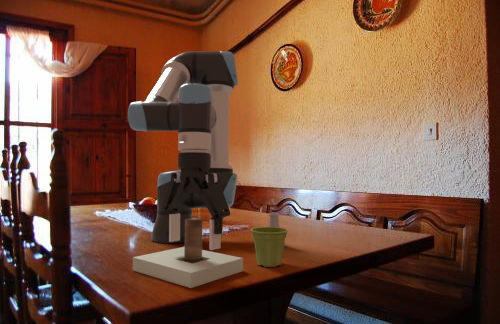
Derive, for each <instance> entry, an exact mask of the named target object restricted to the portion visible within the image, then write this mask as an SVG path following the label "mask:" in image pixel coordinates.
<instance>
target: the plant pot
mask: <svg viewBox="0 0 500 324" xmlns="http://www.w3.org/2000/svg"><path fill="white" fill-rule="evenodd" d="M250 232H251V234H252V235H251V236H252V238H253V243H254V251H255V257H256V258H255V260H256V264H257V265H258V266H263V267H265V268H275V267H277V266H282V264H283V256H284V250H285V249H284V248H285V246H284V243H285V244H286V241H285V240H286V238H287V235H288V232H289V229H288V228H285V227H280V228H279V227H269V226H260V227H253V228H251V229H250Z"/></svg>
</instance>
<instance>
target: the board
mask: <svg viewBox="0 0 500 324" xmlns="http://www.w3.org/2000/svg"><path fill="white" fill-rule="evenodd" d="M184 250H185V246H182V247H177V248H171V249H167V250H162V251H157V252H152V253H148V254H143V255H138V256H132V271H134V272H137V273H140V274H144V275H147V276H150V277H153V278H156V279H160V280H163V281H166V282H169V283H172V284H176V285H179V286H183V287H186V288H189V289H192V288H195V287H198V286H201V285H202V286H203V285H204V284H207V283H211V282H213V281H217V280H220V279H223V278H227V277H229V276H232V275H235V274H238V273H241V272H243V271H244V257H239V256H234V255H229V254H224V253H219V252H214V251H211V250H204V249H202V261H200V262H196V263H189V262H185V261H184Z"/></svg>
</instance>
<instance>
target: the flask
mask: <svg viewBox="0 0 500 324" xmlns="http://www.w3.org/2000/svg"><path fill="white" fill-rule="evenodd" d="M268 216H269V217H270V218H269V225H268V227H279V228H281V227H280V222H279V221H280V220H279V217H280V213H276V212H271V213H268ZM284 247H286V242H285V243H284Z"/></svg>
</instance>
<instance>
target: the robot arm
mask: <svg viewBox="0 0 500 324" xmlns="http://www.w3.org/2000/svg"><path fill="white" fill-rule="evenodd" d="M237 73H238V71H237V65H236V59H235V55H234V53H233V52H231V51H223V50H220V51H219V50H218V51H217V50H215V51H211V50H207V51H206V50H205V51H204V50H203V51H201V50H200V51H195V50H190V51H185V52H182V53H179V54H178V55H175V56H174V57H172V58H170V59H169V60H167V62H166V63H165V64H164V65H163V67H162V69H161V71H160V77H159V78H158V81H157V82H156V84H155V85H154V87H153V88H152V90H151V91H150V93H149V94H148V95H147V97H146V98H145V100H144V101H142V100H139V101H133V102H130V104H129V106H128V109H127V121H128V125H129V127H130V129H132V130H133V131H138V132H139V131H141V132H145V133H146V132H177V133H178V135H177V136H178V137H177V139H178V140H177V150H178V151H180V152H178V154H177V168H178V169H180V170H172V171H165V172H160V174H159V175H158V177H157V186H156V189H157V190H156V194H157V195H156V208H157V209H156V219H155V221H154V224H153V229H152V231H151V236H150V237H151V241H152V242H155V243H161V244H177V243H178V244H179V243H181V244H182V243H185V219H193V218H194V217H193V209H207V210H208V212H209V214H210V215H211V217H210V218H209V226H208V227H209V237H208V239H209V242H208V244H209V245H208V247H209V250H208V251H214V250H219V249H221V241H222V239H221V237H222V236H221V234H222V233H223V232H224V231H223V224H224V221H223V220H224V218H226V217H230V216H231V211H230V209H229V208H231V207H232V206H233V205H234V201H235V196H236V190H237V180H238V175H237V173H234V168H233V167H232V166H231V165H230V163H229V159H230V158H229V157H230V156H229V155H230V154H229V152H230V151H229V147H230V146H229V145H230V141H229V138H230V137H229V136H230V135H229V134H230V95H231V94H232V93H234V88H235V87H237V86H238V85H239V83H238V74H237Z"/></svg>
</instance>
